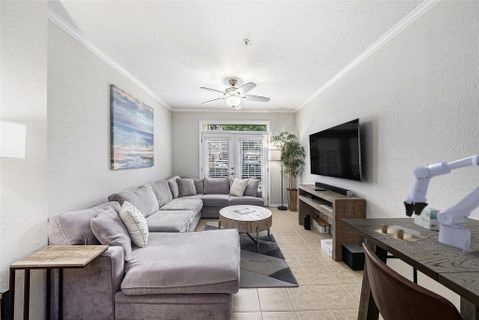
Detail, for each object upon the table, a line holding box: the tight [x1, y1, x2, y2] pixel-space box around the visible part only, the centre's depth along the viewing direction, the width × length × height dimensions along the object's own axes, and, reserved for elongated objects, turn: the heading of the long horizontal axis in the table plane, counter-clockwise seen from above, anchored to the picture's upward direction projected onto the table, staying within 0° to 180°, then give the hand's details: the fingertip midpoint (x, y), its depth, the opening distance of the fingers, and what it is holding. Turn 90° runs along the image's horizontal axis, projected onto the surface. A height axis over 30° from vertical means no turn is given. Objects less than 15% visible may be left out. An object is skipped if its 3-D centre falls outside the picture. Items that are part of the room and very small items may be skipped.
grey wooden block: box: [388, 224, 421, 238], centre depth 105 cm, size 10×7×2 cm
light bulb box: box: [413, 205, 441, 231], centre depth 121 cm, size 11×7×11 cm, turn 179°
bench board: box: [373, 223, 427, 243], centre depth 104 cm, size 15×16×5 cm
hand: (412, 215), depth 110 cm, fingers open, 7 cm apart
